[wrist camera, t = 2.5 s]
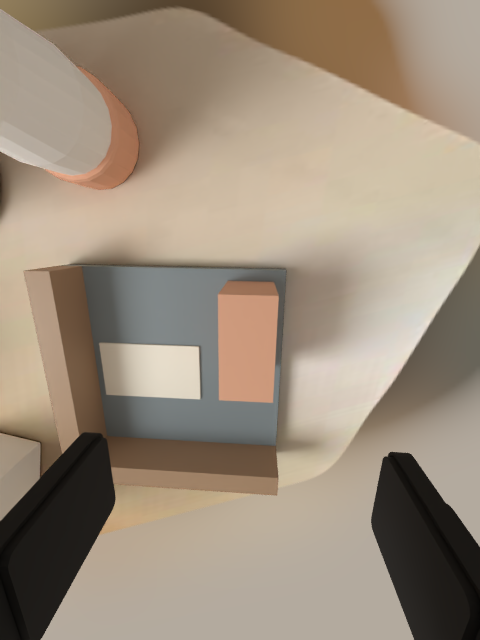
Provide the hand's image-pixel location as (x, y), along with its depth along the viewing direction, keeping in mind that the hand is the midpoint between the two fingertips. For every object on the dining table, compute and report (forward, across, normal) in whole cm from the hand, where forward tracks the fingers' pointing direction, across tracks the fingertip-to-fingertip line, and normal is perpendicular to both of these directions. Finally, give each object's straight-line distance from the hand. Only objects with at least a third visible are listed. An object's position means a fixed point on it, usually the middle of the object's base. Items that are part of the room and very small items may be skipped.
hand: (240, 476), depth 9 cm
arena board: (+18, +7, +5) cm, 20 cm away
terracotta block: (+16, 0, 0) cm, 16 cm away
